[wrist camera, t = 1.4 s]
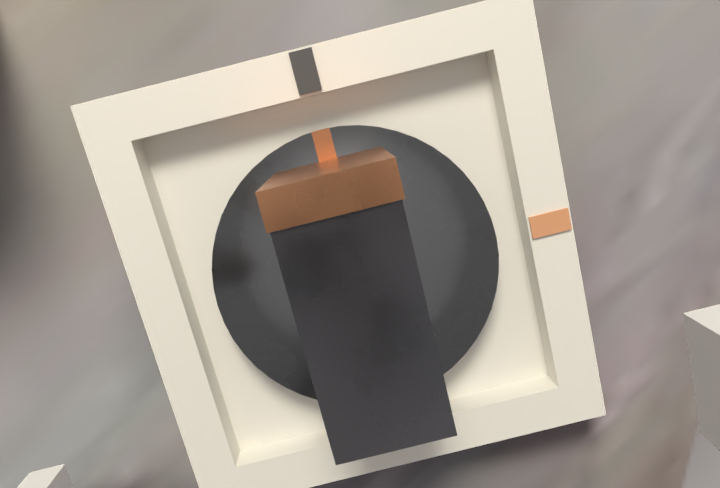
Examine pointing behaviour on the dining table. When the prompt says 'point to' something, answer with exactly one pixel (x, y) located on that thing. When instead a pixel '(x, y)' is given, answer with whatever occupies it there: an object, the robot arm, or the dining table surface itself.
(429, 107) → the dial panel
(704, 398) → the robot arm
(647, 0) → the dining table surface
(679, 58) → the dining table surface
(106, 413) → the dining table surface
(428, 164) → the dial
